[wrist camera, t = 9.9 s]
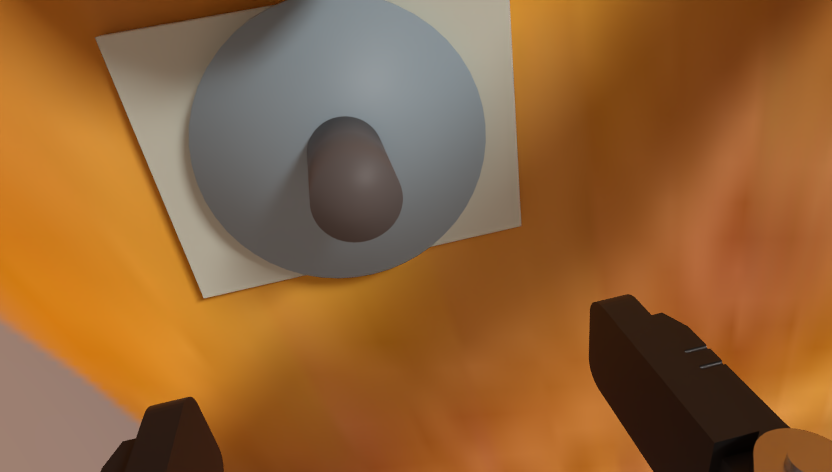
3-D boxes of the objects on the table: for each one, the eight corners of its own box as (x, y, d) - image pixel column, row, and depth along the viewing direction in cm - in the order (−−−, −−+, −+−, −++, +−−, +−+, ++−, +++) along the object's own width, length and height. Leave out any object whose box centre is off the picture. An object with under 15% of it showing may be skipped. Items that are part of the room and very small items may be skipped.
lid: (465, -34, 21) (520, -28, 16) (488, 236, 27) (534, 303, 22) (144, 22, 20) (91, 48, 15) (244, 292, 26) (231, 377, 21)
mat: (502, -35, 22) (507, -35, 22) (517, 220, 28) (521, 226, 27) (100, 35, 20) (95, 37, 20) (205, 291, 26) (203, 298, 26)
